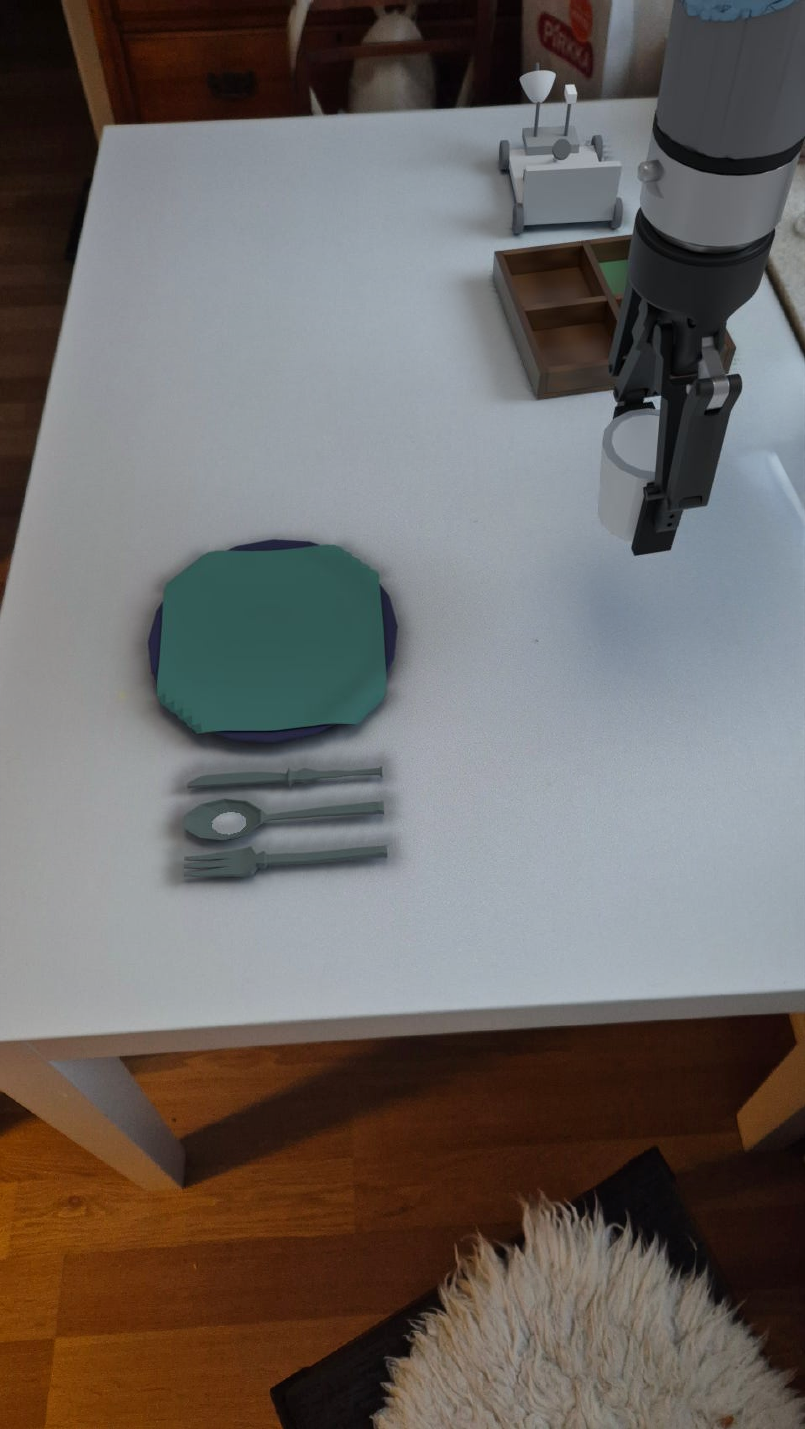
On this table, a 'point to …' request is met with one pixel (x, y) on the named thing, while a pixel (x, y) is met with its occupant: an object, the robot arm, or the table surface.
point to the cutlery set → (272, 671)
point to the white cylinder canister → (627, 469)
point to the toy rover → (559, 169)
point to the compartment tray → (568, 311)
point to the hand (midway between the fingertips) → (635, 510)
